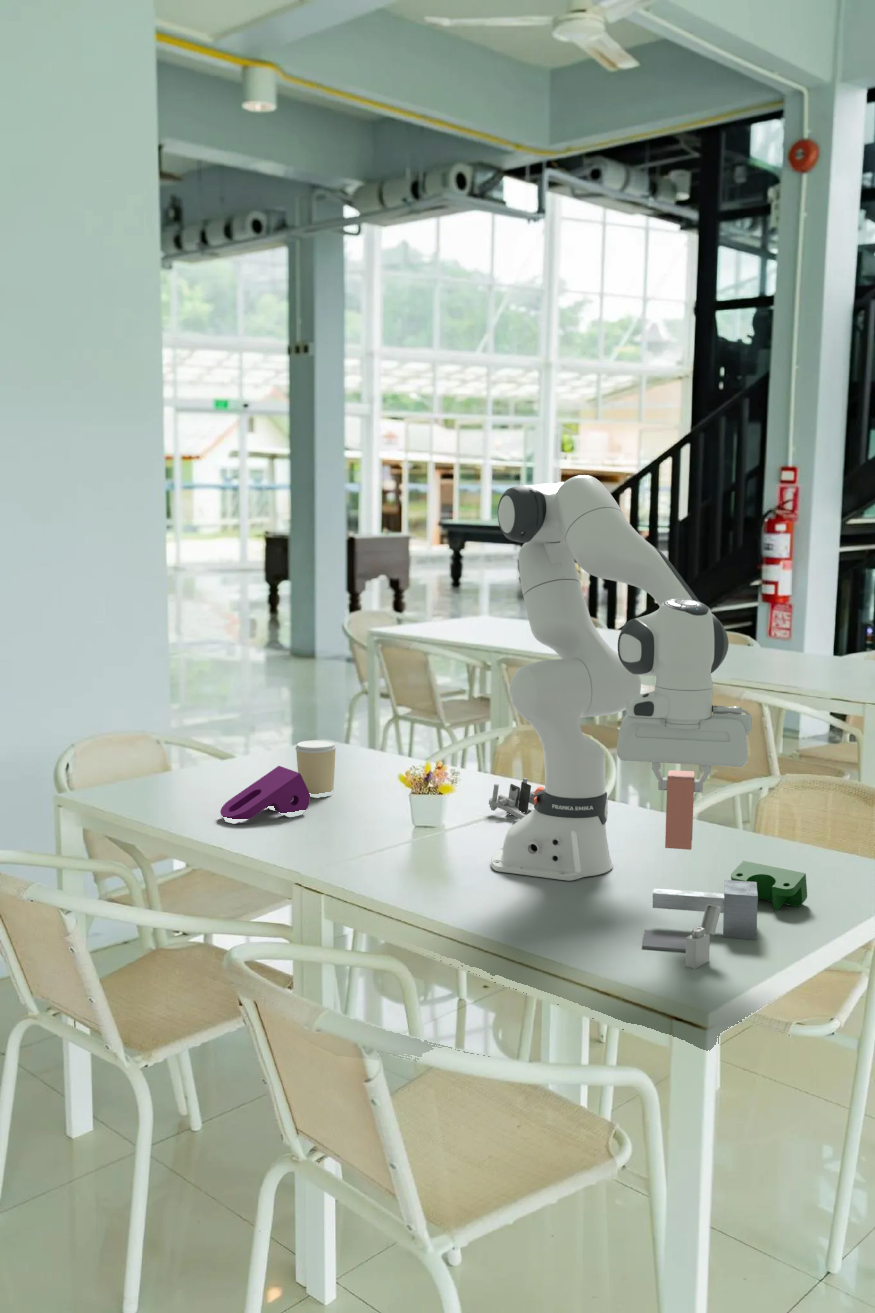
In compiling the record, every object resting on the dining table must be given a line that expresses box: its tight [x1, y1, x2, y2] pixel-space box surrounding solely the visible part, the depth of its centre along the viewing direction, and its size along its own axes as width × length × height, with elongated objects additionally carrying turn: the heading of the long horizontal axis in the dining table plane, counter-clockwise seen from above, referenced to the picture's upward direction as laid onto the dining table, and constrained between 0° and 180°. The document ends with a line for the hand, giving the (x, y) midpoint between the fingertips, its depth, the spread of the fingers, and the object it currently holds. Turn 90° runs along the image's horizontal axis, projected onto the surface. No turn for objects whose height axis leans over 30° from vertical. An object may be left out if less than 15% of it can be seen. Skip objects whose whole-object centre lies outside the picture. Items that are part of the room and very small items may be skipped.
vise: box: [652, 879, 759, 941], centre depth 189 cm, size 16×7×7 cm, turn 77°
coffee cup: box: [295, 739, 337, 794], centre depth 276 cm, size 9×9×12 cm
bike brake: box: [488, 777, 535, 820], centre depth 255 cm, size 14×7×20 cm
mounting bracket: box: [220, 765, 311, 820], centre depth 258 cm, size 9×8×18 cm
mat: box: [641, 929, 691, 953], centre depth 183 cm, size 7×7×1 cm
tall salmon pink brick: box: [664, 769, 695, 851], centre depth 188 cm, size 4×6×11 cm, turn 167°
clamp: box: [730, 860, 808, 912], centre depth 200 cm, size 12×6×9 cm, turn 44°
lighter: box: [684, 904, 721, 969], centre depth 175 cm, size 7×2×8 cm, turn 137°
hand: (680, 790), depth 187 cm, fingers closed on tall salmon pink brick, 4 cm apart
